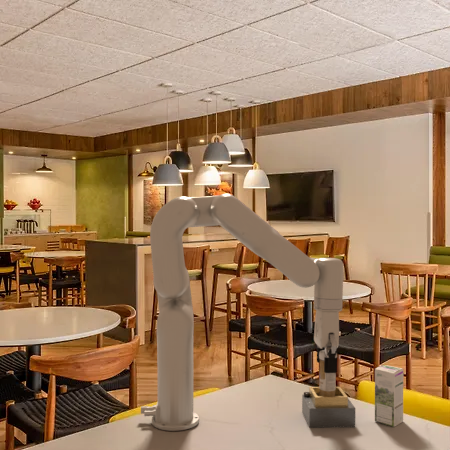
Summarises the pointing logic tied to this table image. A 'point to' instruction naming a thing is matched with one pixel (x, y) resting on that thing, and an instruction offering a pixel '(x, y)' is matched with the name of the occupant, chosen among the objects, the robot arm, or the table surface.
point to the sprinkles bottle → (326, 379)
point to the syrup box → (389, 395)
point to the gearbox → (327, 409)
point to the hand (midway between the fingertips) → (326, 367)
